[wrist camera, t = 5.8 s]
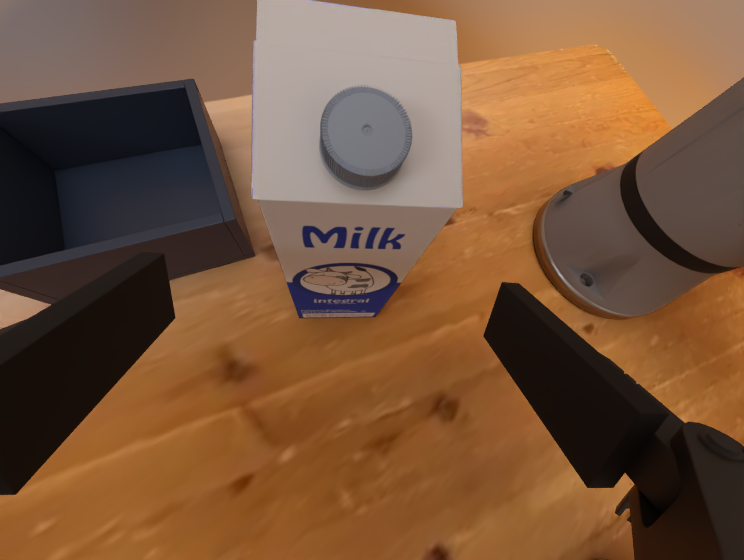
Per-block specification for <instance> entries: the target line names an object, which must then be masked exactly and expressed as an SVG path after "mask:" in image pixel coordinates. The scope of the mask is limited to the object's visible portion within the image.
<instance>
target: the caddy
mask: <svg viewBox="0 0 744 560" xmlns="http://www.w3.org/2000/svg"><path fill="white" fill-rule="evenodd" d="M140 252H152V253H163V254H165V260H166V266H167V272H168V278H169V280H172V279H175V278H179V277H182V276H186V275H189V274H193V273H197V272H200V271H204V270H207V269H211V268H214V267H218V266H221V265H225V264H229V263H232V262H236V261H239V260H243V259H246V258H250V257H253V256H255V253H254V250H253V247H252V244H251V240H250V237H249V234H248V231H247V228H246V224H245V221H244V218H243V215H242V211H241V208H240V205H239V202H238V199H237V195H236V192H235V189H234V186H233V182H232V179H231V176H230V173H229V170H228V166H227V163H226V160H225V157H224V153H223V150H222V147H221V144H220V141H219V138H218V136H217V133H216V131H215V128H214V126H213V124H212V121H211V119H210V116H209V114H208V112H207V109H206V107H205V105H204V102H203V100H202V98H201V95H200V93H199V90H198V88H197V86H196V83H195V81H194V79H187V80H184V81H183V80H180V81H172V82H164V83H156V84H149V85H141V86H133V87H126V88H118V89H110V90H102V91H94V92H87V93H79V94H71V95H64V96H55V97H48V98H40V99H33V100H25V101H17V102H9V103H2V104H0V289H1V290H5V291H8V292H11V293H15V294H18V295H21V296H25V297H28V298H31V299H35V300H38V301H41V302H45V303H48V304H51V305H52V304H54V303H56V302H57V301H59V300H61V299H62V298H64V297H66V296H67V295H69V294H71V293H72V292H74V291H76V290H78V289H79V288H81V287H83V286H84V285H86V284H88V283H89V282H91V281H93V280H94V279H96V278H98V277H99V276H101V275H103V274H105V273H106V272H108V271H110V270H111V269H113V268H115V267H116V266H118V265H120V264H121V263H123V262H125V261H126V260H128V259H130V258H131V257H133V256H135V255H137V254H138V253H140Z"/></svg>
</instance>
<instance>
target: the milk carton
mask: <svg viewBox="0 0 744 560" xmlns="http://www.w3.org/2000/svg"><path fill="white" fill-rule="evenodd" d="M257 3H258V4H257V30H256V40H253V93H252V168H251V196H252V198H253V199H257V200H258V203H259V205H260V208H261V211H262V214H263V217H264V220H265V222H266V225H267V228H268V231H269V234H270V237H271V239H272V242H273V245H274V248H275V251H276V254H277V256H278V259H279V262H280V265H281V268H282V270H283V273H284V276H285V279H286V282H287V285H288V287H289V290H290V293H291V296H292V299H293V302H294V304H295V307H296V310H297V313H298V316H299V318H338V317H376V316H377V314H378V313H379V312H380V310H381V309H382V308H383V306H384V305H385V304H386V302H387V301H388V300H389V298H390V297H391V296H392V294H393V293H394V292H395V290H396V289H397V288H398V286H399V285H400V284H401V282H402V281H403V280H404V278H405V277H406V276H407V274H408V273H409V272H410V270H411V269H412V268H413V266H414V265H415V264H416V262H417V261H418V260H419V258H420V257H421V256H422V254H423V253H424V252H425V250H426V249H427V248H428V246H429V245H430V244H431V242H432V241H433V240H434V238H435V237H436V236H437V234H438V233H439V232H440V230H441V229H442V228H443V226H444V225H445V224H446V222H447V221H448V220H449V218H450V217H451V216H452V215H453V213H454V212H455V211H456V209H457V208H462V205H463V199H462V118H461V66H460V65H458V52H457V34H456V22H455V21H453V20H445V19H439V18H432V17H424V16H418V15H411V14H404V13H397V12H391V11H384V10H376V9H370V8H362V7H356V6H349V5H342V4H335V3H328V2H322V1H315V0H258V2H257Z"/></svg>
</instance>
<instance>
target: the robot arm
mask: <svg viewBox="0 0 744 560" xmlns="http://www.w3.org/2000/svg"><path fill="white" fill-rule="evenodd" d="M534 245H535V250H536V253H537V257H538V259H539V262H540V264H541V266H542V268H543V270H544V272H545V273H546V275H547V277H548V278H549V279H550V281H551V282H552V283H553V285H554V286H555V287H556V288H557V289H558V290H559V291H560V292H561V293H562V294H563V295H564V296H565V297H566V298H567V299H568V300H570V301H571V302H572V303H574V304H575V305H577V306H578V307H580V308H582V309H583V310H585V311H587V312H589V313H592V314H594V315H597V316H600V317H604V318H609V319H627V318H632V317H637V316H641V315H646V314H649V313H652V312H654V311H656V310H658V309H660V308H662V307H664V306H665V305H667V304H668V303H670V302H672V301H673V300H675V299H676V298H678V297H680V296H681V295H683V294H684V293H686V292H688V291H689V290H691V289H692V288H694V287H696V286H697V285H699V284H700V283H702V282H703V281H705V280H707V279H708V278H710V277H711V276H713V275H716V274H719V273H722V272H726V271H729V270H733V269H736V268H739V267H743V266H744V78H742V79H741V80H740V81H738V82H737V83H736V84H734V85H733V86H731V87H730V88H729V89H727V90H726V91H725V92H723V93H722V94H721V95H719V96H718V97H717V98H715V99H714V100H712V101H711V102H710V103H709V104H707V105H706V106H704V107H703V108H702V109H700V110H699V111H697V112H696V113H695V114H693V115H692V116H691V117H689V118H688V119H686V120H685V121H684V122H682V123H681V124H680V125H678V126H677V127H675V128H674V129H672V130H671V131H670V132H668V133H667V134H666V135H664V136H663V137H661V138H660V139H659V140H657V141H656V142H654V143H653V144H652V145H650V146H649V147H648V148H646V149H645V150H644V151H642V152H641V153H640V154H638V155H637V156H635V157H634V158H633V159H631V160H630V161H629V162H627V163H626V164H624V165H621V166H619V167H616V168H613V169H611V170H608V171H606V172H603V173H600V174H598V175H595V176H593V177H590V178H587V179H585V180H582V181H580V182H577V183H575V184H572V185H570V186H568V187H566V188H564V189H562V190H560V191H559V192H558V193H557V194H555V195H554V196H553V197H552V198H551V199H549V200H548V201H547V202H546V203H545V204H544V205H543V206H542V208H541V209H540V210H539V212H538V214H537V217H536V220H535V224H534ZM174 319H175V313H174V307H173V301H172V295H171V289H170V284H169V278H168V272H167V266H166V260H165V254H163V253H152V252H140V253H138V254H137V255H135V256H133V257H131V258H130V259H128V260H126V261H125V262H123V263H121V264H120V265H118V266H116V267H115V268H113V269H111V270H110V271H108V272H106V273H105V274H103V275H101V276H99V277H98V278H96V279H94V280H93V281H91V282H89V283H88V284H86V285H84V286H83V287H81V288H79V289H78V290H76V291H74V292H72V293H71V294H69V295H67V296H66V297H64V298H62V299H61V300H59V301H57V302H56V303H54V304H52V305H51V306H49V307H47V308H46V309H44V310H42V311H40V312H39V313H37V314H35V315H34V316H32V317H30V318H29V319H26V320H23V321H21V322H18V323H16V324H13V325H10V326H8V327H5V328H2V329H0V495H16V494H17V493H18V492H19V490H20V489H21V488H22V487H23V486H24V485H25V484H26V483H27V482H28V480H29V479H30V478H31V477H32V476H33V475H34V474H35V473H36V472H37V471H38V469H39V468H40V467H41V466H42V465H43V464H44V463H45V462H46V461H47V459H48V458H49V457H50V456H51V455H52V454H53V453H54V452H55V451H56V449H57V448H58V447H59V446H60V445H61V444H62V443H63V442H64V441H65V440H66V438H67V437H68V436H69V435H70V434H71V433H72V432H73V431H74V430H75V428H76V427H77V426H78V425H79V424H80V423H81V422H82V421H83V420H84V418H85V417H86V416H87V415H88V414H89V413H90V412H91V411H92V410H93V408H94V407H95V406H96V405H97V404H98V403H99V402H100V401H101V400H102V399H103V397H104V396H105V395H106V394H107V393H108V392H109V391H110V390H111V389H112V387H113V386H114V385H115V384H116V383H117V382H118V381H119V380H120V379H121V377H122V376H123V375H124V374H125V373H126V372H127V371H128V370H129V369H130V368H131V366H132V365H133V364H134V363H135V362H136V361H137V360H138V359H139V358H140V356H141V355H142V354H143V353H144V352H145V351H146V350H147V349H148V348H149V346H150V345H151V344H152V343H153V342H154V341H155V340H156V339H157V338H158V336H159V335H160V334H161V333H162V332H163V331H164V330H165V329H166V328H167V327H168V325H169V324H170V323H171V322H172V321H173V320H174ZM483 336H484V338H485V339H486V341H487V342H488V344H489V345H490V346H491V348H492V349H493V351H494V352H495V354H496V355H497V357H498V358H499V360H500V361H501V362H502V364H503V365H504V367H505V368H506V370H507V371H508V373H509V374H510V376H511V377H512V379H513V380H514V381H515V383H516V384H517V386H518V387H519V389H520V390H521V392H522V393H523V395H524V396H525V397H526V399H527V400H528V402H529V403H530V405H531V406H532V408H533V409H534V411H535V412H536V414H537V415H538V416H539V418H540V419H541V421H542V422H543V424H544V425H545V427H546V428H547V430H548V431H549V432H550V434H551V435H552V437H553V438H554V440H555V441H556V443H557V444H558V446H559V447H560V448H561V450H562V451H563V453H564V454H565V456H566V457H567V459H568V460H569V462H570V463H571V465H572V466H573V467H574V469H575V470H576V472H577V473H578V475H579V476H580V478H581V479H582V481H583V482H584V483H585V485H586V486H587V488H613V487H614V486H615V485H616V484H617V482H618V481H619V480H620V478H621V477H622V476H623V474H624V473H626V474H627V475H628V477H629V478H630V479H631V480H632V481H633V483H634V486H633V487H632V488H631V489H630V491H629V492H628V493H627V494H626V496H625V497H624V498H623V499H622V501H621V502H620V503H619V504H618V506H617V507H616V511H615V513H616V514H617V515H619V516H620V515H621V514H622V513H623V512H624V511H625V509H628V508H629V509H630V514H631V516H630V517H629V518H628V519H627V521H629V522H631V525H632V536H633V548H634V559H635V560H744V446H743V445H741V444H740V443H738V442H737V441H735V440H734V439H732V438H731V437H729V436H728V435H726V434H724V433H722V432H720V431H718V430H716V429H714V428H712V427H709V426H706V425H703V424H700V423H695V422H687V423H684V422H683V421H682V420H680V419H679V418H678V417H677V416H676V415H675V414H673V413H672V412H671V411H670V410H669V409H668V408H666V407H665V406H664V405H663V404H662V403H661V402H659V401H658V400H657V399H656V398H655V397H654V396H652V395H651V394H650V393H649V392H648V391H646V390H645V389H644V388H643V387H642V386H641V385H639V384H636V381H635V380H634V379H632V378H631V377H630V376H629V375H628V374H624V371H623V370H622V369H621V368H620V367H618V366H617V365H616V364H615V363H614V362H612V361H611V360H610V359H608V358H607V357H605V356H604V355H602V354H600V353H599V352H598V351H596V350H595V349H594V348H593V347H592V346H591V345H589V344H588V343H587V342H586V341H585V340H584V339H582V338H581V337H580V336H579V335H578V334H577V333H576V332H574V331H573V330H572V329H571V328H570V327H569V326H567V325H566V324H565V323H564V322H563V321H562V320H560V319H559V318H558V317H557V316H556V315H555V314H554V313H552V312H551V311H550V310H549V309H548V308H547V307H545V306H544V305H543V304H542V303H541V302H540V301H538V300H537V299H536V298H535V297H534V296H533V295H532V294H530V293H529V292H528V291H527V290H526V289H525V288H523V287H522V286H521V285H520V284H518V283H507V282H502V283H501V286H500V289H499V292H498V295H497V298H496V301H495V304H494V307H493V309H492V312H491V315H490V318H489V321H488V324H487V327H486V330H485V333H484V335H483Z"/></svg>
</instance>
